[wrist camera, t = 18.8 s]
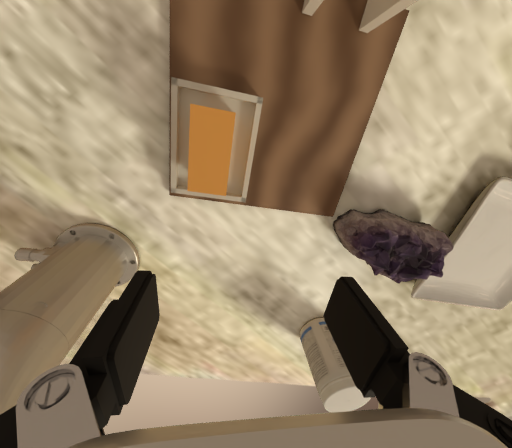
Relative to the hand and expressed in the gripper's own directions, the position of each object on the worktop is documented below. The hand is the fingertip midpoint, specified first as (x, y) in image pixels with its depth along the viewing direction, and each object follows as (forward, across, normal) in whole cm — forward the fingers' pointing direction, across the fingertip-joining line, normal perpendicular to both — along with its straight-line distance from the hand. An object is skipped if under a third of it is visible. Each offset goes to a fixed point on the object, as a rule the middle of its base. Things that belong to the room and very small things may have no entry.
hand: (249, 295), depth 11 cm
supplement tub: (+24, -23, +35) cm, 48 cm away
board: (+24, -4, -10) cm, 26 cm away
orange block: (+23, +4, -4) cm, 23 cm away
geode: (+24, -28, +8) cm, 38 cm away
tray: (+23, +4, -4) cm, 24 cm away
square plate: (+25, -54, +10) cm, 60 cm away
